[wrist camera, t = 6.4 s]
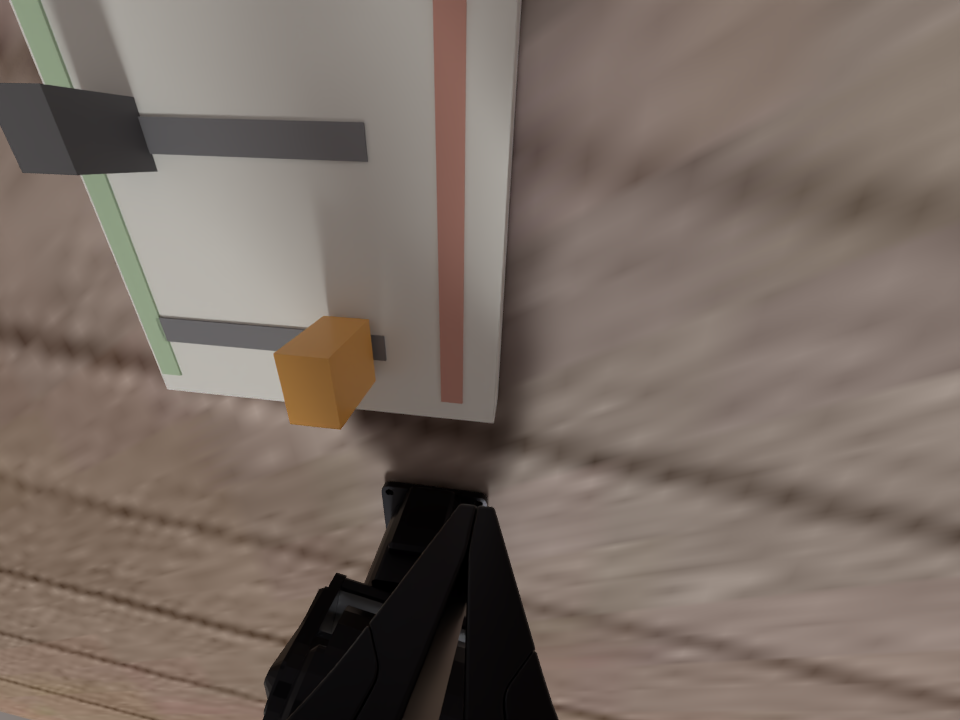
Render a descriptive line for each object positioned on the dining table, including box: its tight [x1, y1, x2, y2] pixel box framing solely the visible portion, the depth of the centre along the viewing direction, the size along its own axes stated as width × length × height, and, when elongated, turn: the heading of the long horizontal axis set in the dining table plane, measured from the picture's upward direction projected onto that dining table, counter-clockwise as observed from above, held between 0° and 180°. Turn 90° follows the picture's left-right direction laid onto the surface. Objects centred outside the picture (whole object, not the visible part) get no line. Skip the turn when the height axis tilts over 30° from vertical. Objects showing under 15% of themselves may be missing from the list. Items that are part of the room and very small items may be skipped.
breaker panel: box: [0, 0, 522, 423], centre depth 14 cm, size 21×17×5 cm
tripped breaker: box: [273, 316, 376, 430], centre depth 16 cm, size 3×2×4 cm, turn 178°
